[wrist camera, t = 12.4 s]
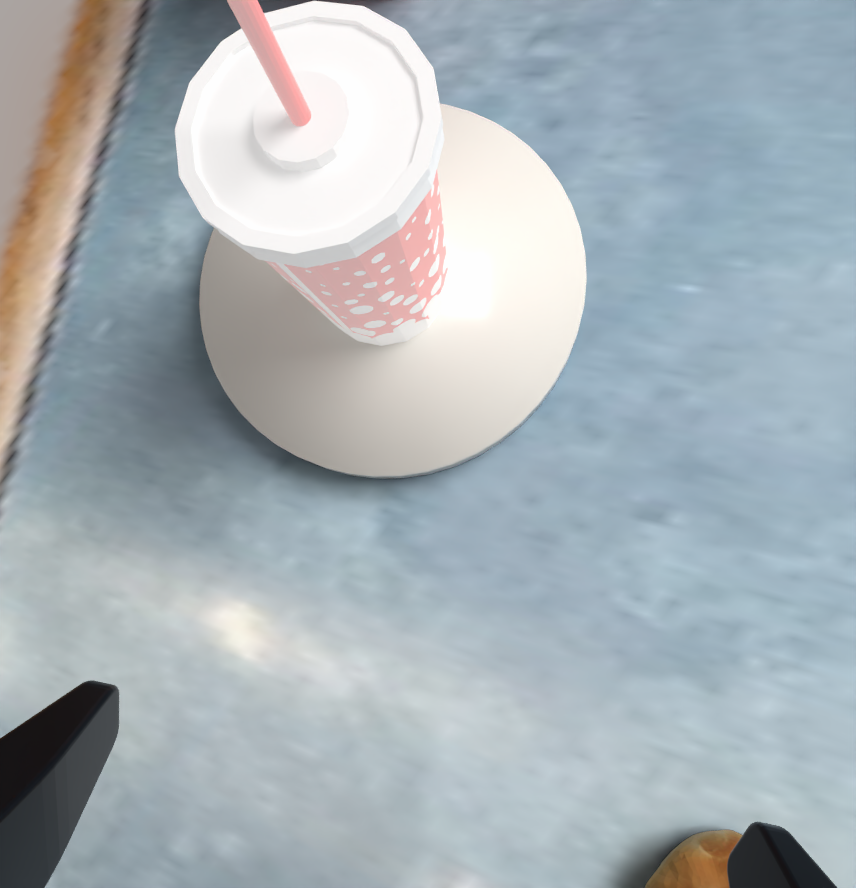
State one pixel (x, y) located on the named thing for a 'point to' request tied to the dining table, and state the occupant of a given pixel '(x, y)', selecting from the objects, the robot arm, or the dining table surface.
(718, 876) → the pastry
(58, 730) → the robot arm
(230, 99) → the beverage cup
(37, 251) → the dining table surface
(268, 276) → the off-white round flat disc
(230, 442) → the dining table surface
